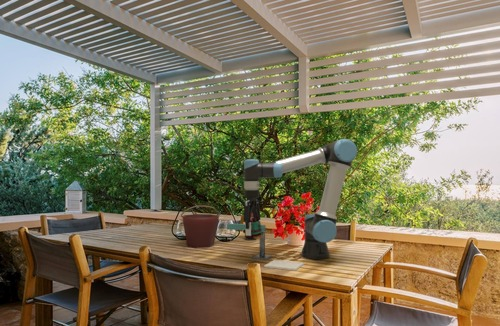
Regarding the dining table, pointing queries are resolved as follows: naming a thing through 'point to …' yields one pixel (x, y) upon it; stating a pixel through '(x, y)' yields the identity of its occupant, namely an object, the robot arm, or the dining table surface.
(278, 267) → the tile
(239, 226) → the swing arm
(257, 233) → the binoculars
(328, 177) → the robot arm
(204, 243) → the bucket
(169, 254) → the dining table surface
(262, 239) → the post
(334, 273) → the dining table surface
